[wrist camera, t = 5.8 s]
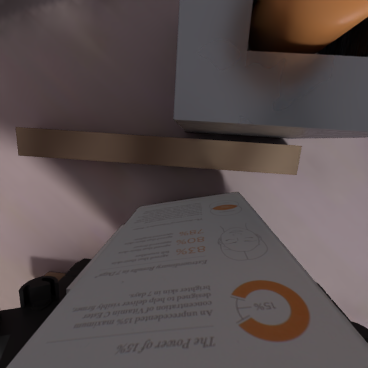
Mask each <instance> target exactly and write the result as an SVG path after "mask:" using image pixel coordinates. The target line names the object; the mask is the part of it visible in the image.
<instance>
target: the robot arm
mask: <svg viewBox="0 0 368 368" xmlns="http://www.w3.org/2000/svg"><path fill="white" fill-rule="evenodd" d="M123 226H124V225H121V227H120V228H119V229H118V230H117V231H116V232H115V233H114V235H113V236H112V237H111V238H110V239H109V240H108V241H107V243H106V244H105V245H104V246H103V247H102V248H101V250H100V251H99V252H98V253H97V254H96V255H95V256H94V258H93V259H83V260H81V261H79V262H77V263H76V264H75V265H74V266H73V267H72V268H71V269H70V271H68V272H67V273H66V274H65V276H63V277H62V278H61V279H60V280H59V281H58V279H57V278H56V277H53V276H42V277H38V278H35V279H33V280H30V281H28V282H27V283H25V284H24V285H23V286H22V287H21V288H20V289H19V296H20V304H21V308H15V309H9V310H2V311H0V368H6V367H7V366H8V365H9V364H10V363H11V361H12V360H13V359H14V358H15V356H16V355H17V354H18V353H19V351H20V350H21V349H22V348H23V347H24V345H25V344H26V343H27V342H28V341H29V339H30V338H31V337H32V336H33V335H34V333H35V332H36V331H37V330H38V329H39V327H40V326H41V325H42V324H43V323H44V321H45V320H46V319H47V318H48V316H49V315H50V314H51V313H52V312H53V310H54V309H55V308H56V307H57V306H58V304H59V303H60V302H61V301H62V300H63V298H64V297H65V296H66V295H67V294H68V292H69V291H70V290H71V289H72V288H73V286H74V285H75V284H76V283H77V282H78V280H79V279H80V278H81V277H82V275H83V274H84V273H85V272H86V271H87V269H88V268H89V267H90V266H91V265H92V263H93V262H94V261H95V260H96V258H97V257H98V256H99V255H100V254H101V252H102V251H103V250H104V249H105V248H106V247H107V245H108V244H109V243H110V242H111V240H112V239H113V238H114V237H115V236H116V234H117V233H118V232H119V231H120V230H121V228H122V227H123ZM317 285H318V286H319V287H320V288H321V289H322V291H323V292H324V293H325V294H326V292H325V291H324V289H323V288H322V287H321V286H320V285H319V284H318V283H317ZM326 295H327V296H328V298H329V299H330V300H331V298H330V296H329V295H328V294H326ZM331 301H332V302H333V303H334V305H335V306H336V307H337V308H338V309H339V310H340V312H341V313H342V314H343V315H344V316H345V317H346V318H347V319H348V317H347V316H346V315H345V314H344V313H343V312H342V310H341V309H340V308H339V307H338V306H337V305H336V303H335V302H334V301H333V300H331ZM348 321H349V322H350V323H351V324H352V326H353V327H354V328H355V329H356V330H357V332H358V333H359V334H360V335H361V336H362V337H363V338H364V340H365V341H366V342H367V343H368V329H367V328H366V327H364V326H362V325H360V324H358V323H355V322H351V321H350V320H349V319H348Z"/></svg>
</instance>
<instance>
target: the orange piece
mask: <svg viewBox="0 0 368 368" xmlns="http://www.w3.org/2000/svg"><path fill="white" fill-rule="evenodd" d="M367 17H368V0H257V2H256V4H255V6H254V8H253V10H252V13H251V22H250V30H249V39H248V44H249V47H250V50H251V51H262V52H281V53H300V54H316V53H317V52H319V51H320V50H322V49H323V48H324V47H326V46H327V45H329V44H330V43H332V42H333V41H334V40H336V39H337V38H339V37H340V36H341V35H343V34H344V33H346V32H347V31H348V30H350V29H351V28H353V27H354V26H356V25H357V24H358V23H360V22H361V21H363V20H364V19H365V18H367Z"/></svg>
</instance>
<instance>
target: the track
mask: <svg viewBox="0 0 368 368" xmlns="http://www.w3.org/2000/svg"><path fill="white" fill-rule="evenodd" d="M16 136H17V146H18V155H20V156H34V157H49V158H63V159H77V160H91V161H105V162H120V163H134V164H148V165H162V166H176V167H191V168H205V169H219V170H233V171H247V172H262V173H276V174H290V175H297V169H298V164H299V158H300V153H301V147H302V146H295V145H280V144H265V143H250V142H235V141H219V140H204V139H189V138H174V137H159V136H144V135H128V134H113V133H98V132H83V131H68V130H53V129H38V128H22V127H16ZM65 274H66V273H55V272H48V273H47V274H45V275H44V276H53V277H56V278H57V279H58V281H59V280H60V279H61V278H62V277H63V276H65Z"/></svg>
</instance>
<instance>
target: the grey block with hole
mask: <svg viewBox="0 0 368 368" xmlns="http://www.w3.org/2000/svg"><path fill="white" fill-rule="evenodd" d="M256 2H257V0H180V3H179V22H178V42H177V61H176V80H175V100H174V120H175V121H176V122H177V123H178V124H179V125H180V127H181V128H182V129H183V130H184V131H185V132H196V133H211V134H227V135H242V136H257V137H273V138H288V139H296V138H366V137H368V17H367V18H365V19H364V20H363V21H361V22H360V23H358V24H357V25H356V26H354V27H353V28H351V29H350V30H348V31H347V32H346V33H344V34H343V35H341V36H340V37H339V38H337V39H336V40H334V41H333V42H332V43H330V44H329V45H327V46H326V47H324V48H323V49H322V50H320V51H319V52H317V53H316V54H300V53H281V52H262V51H251V50H250V47H249V44H248V39H249V30H250V22H251V13H252V10H253V8H254V6H255V4H256Z"/></svg>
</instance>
